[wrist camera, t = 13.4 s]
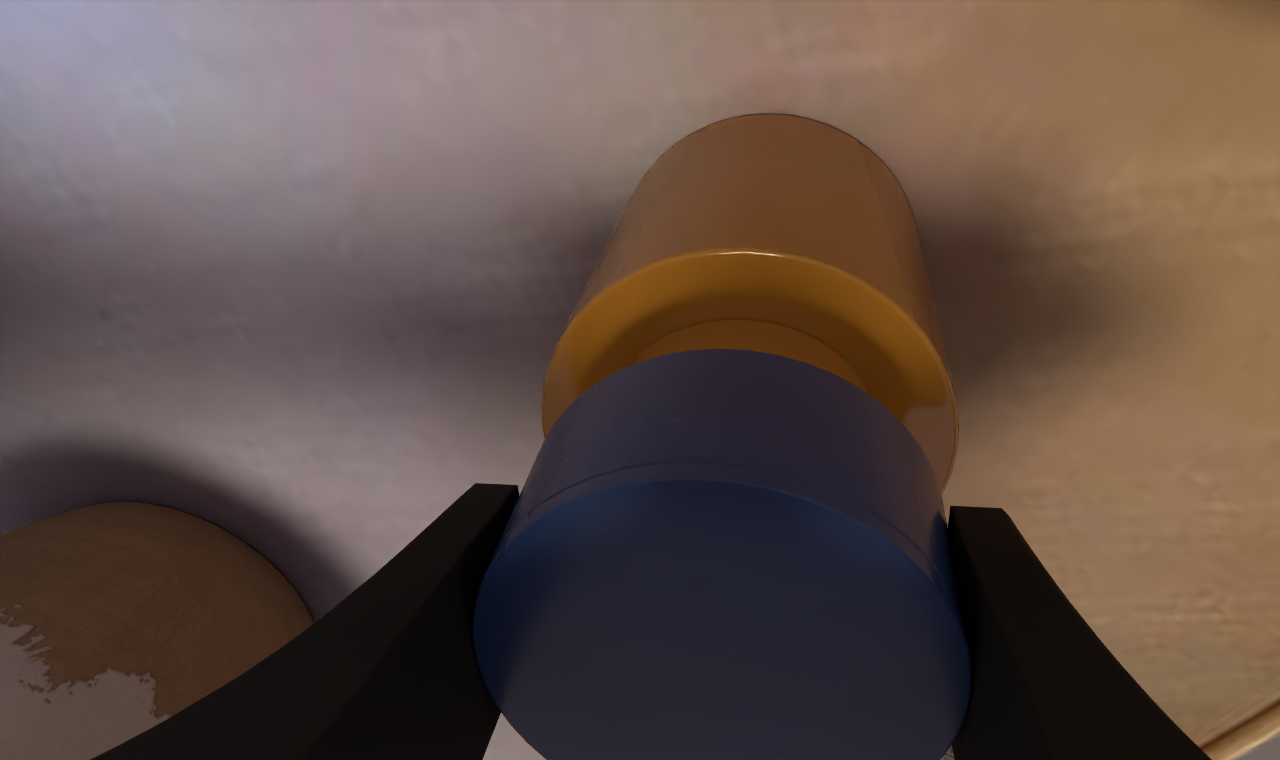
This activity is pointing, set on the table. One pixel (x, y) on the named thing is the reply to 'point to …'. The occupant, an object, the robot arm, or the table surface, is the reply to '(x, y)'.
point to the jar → (768, 273)
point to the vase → (126, 624)
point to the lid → (727, 574)
